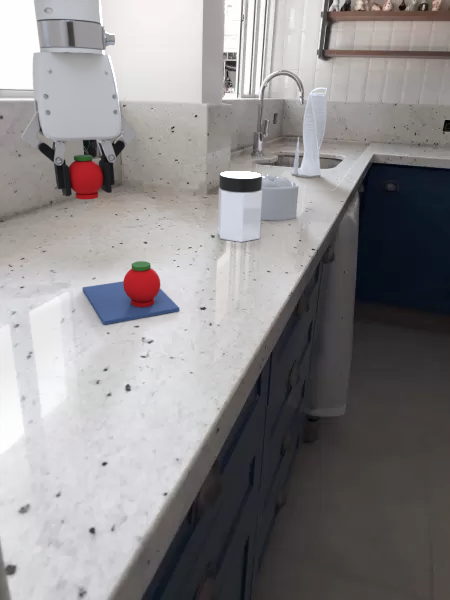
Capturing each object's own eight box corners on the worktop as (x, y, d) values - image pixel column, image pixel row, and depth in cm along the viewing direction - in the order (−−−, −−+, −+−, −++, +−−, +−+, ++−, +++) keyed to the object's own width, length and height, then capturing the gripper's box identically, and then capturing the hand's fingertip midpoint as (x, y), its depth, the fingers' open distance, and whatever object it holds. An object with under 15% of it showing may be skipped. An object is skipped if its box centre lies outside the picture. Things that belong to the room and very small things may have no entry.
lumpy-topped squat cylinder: (244, 207, 119) (245, 172, 115) (297, 211, 117) (300, 175, 113) (237, 217, 109) (238, 179, 106) (294, 222, 107) (297, 182, 104)
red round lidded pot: (130, 312, 61) (128, 272, 59) (120, 299, 65) (117, 260, 63) (166, 306, 63) (165, 267, 61) (153, 293, 67) (152, 256, 65)
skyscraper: (307, 173, 172) (316, 87, 160) (325, 176, 166) (335, 87, 155) (291, 175, 167) (298, 86, 155) (309, 178, 161) (318, 87, 150)
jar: (266, 234, 98) (270, 173, 93) (252, 244, 91) (255, 180, 86) (226, 228, 101) (227, 169, 96) (209, 237, 94) (210, 175, 90)
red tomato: (73, 202, 63) (68, 159, 61) (65, 195, 67) (60, 154, 65) (109, 199, 65) (105, 157, 63) (100, 192, 69) (96, 152, 67)
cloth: (103, 325, 59) (103, 321, 59) (82, 290, 69) (82, 287, 69) (179, 311, 63) (179, 307, 63) (149, 280, 73) (149, 277, 73)
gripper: (130, 46, 65) (137, 183, 72) (-8, 39, 58) (17, 192, 65) (149, 43, 59) (155, 192, 66) (-2, 34, 52) (24, 204, 59)
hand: (86, 191), depth 66 cm, fingers closed on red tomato, 4 cm apart
